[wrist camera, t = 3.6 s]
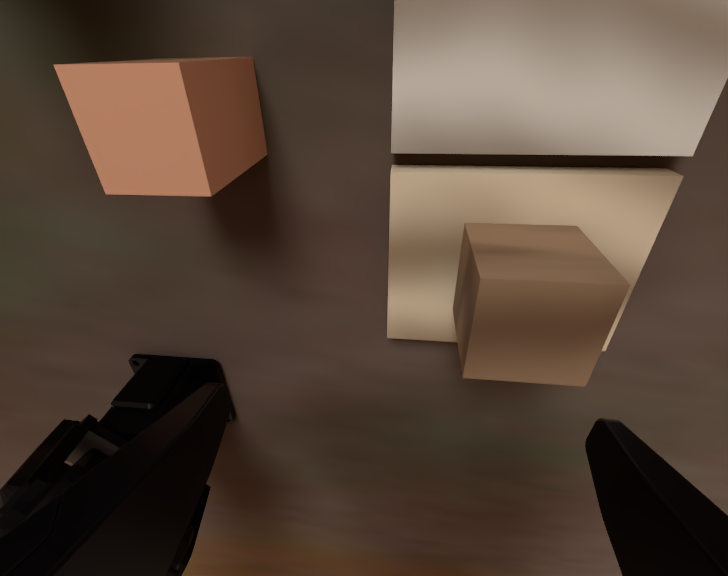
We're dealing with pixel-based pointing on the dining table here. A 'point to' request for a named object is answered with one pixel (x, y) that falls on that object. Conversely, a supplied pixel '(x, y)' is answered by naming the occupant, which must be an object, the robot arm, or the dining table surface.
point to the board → (539, 129)
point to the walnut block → (533, 303)
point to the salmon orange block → (167, 122)
